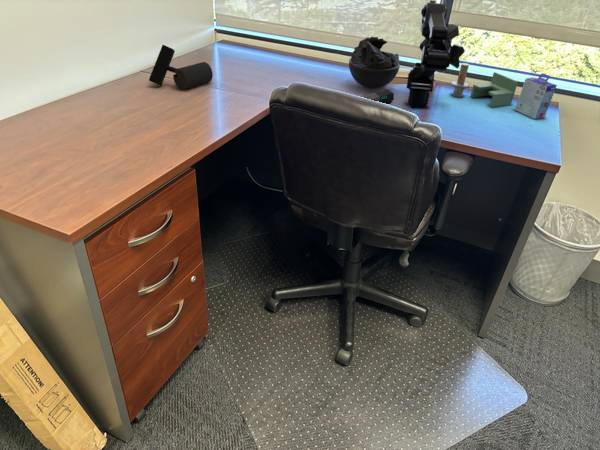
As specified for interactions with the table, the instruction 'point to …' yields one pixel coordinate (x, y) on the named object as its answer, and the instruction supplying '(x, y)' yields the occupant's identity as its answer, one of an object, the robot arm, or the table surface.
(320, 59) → the table surface
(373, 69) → the bowl of black rocks
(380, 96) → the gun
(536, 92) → the ink cartridge box
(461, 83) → the cylinder on round base
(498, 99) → the rack
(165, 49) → the track light
